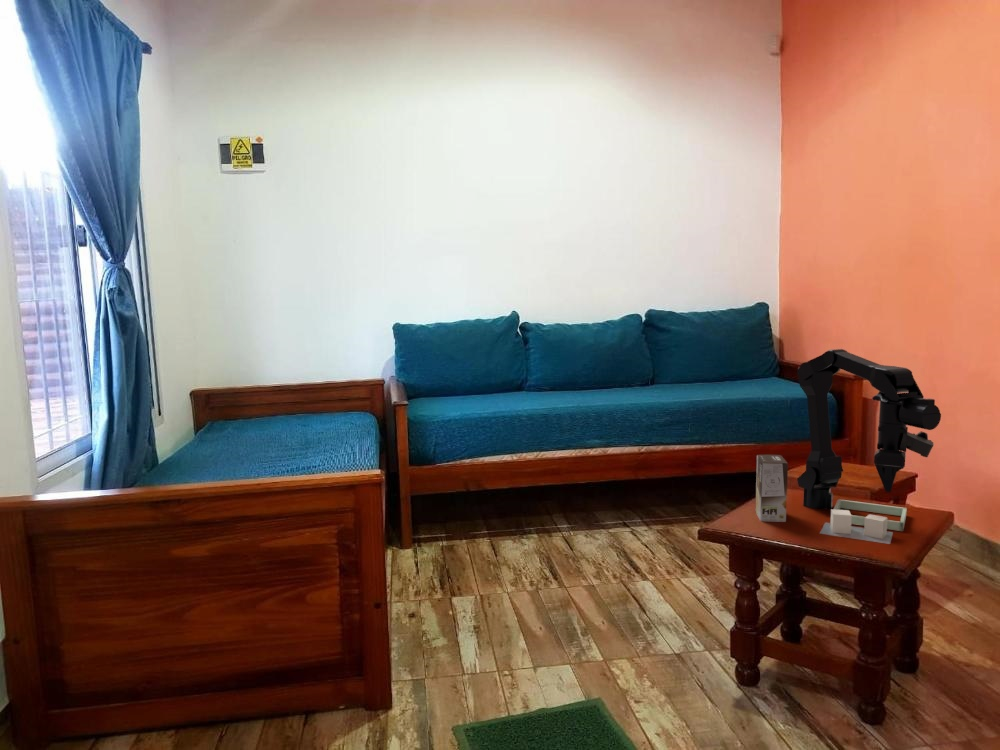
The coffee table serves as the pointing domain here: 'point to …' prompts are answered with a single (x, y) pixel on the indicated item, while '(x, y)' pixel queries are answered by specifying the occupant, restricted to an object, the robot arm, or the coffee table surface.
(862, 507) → the green bin
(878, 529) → the light grey cube
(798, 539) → the coffee table surface
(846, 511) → the white cube
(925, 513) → the coffee table surface
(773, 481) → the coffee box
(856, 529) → the slate slab
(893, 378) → the robot arm
